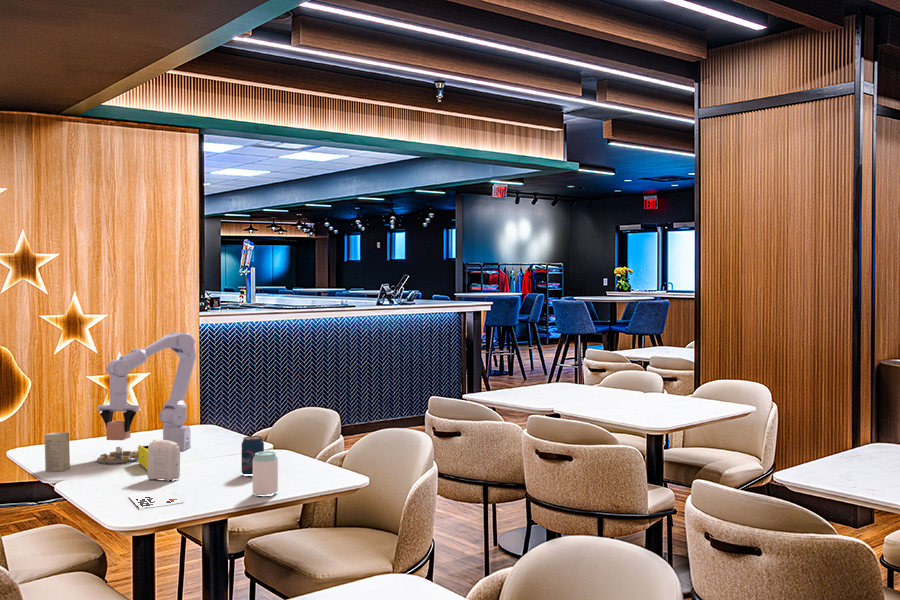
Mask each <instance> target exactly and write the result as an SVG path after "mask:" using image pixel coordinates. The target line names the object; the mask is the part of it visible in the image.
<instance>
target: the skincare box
mask: <svg viewBox="0 0 900 600" xmlns="http://www.w3.org/2000/svg"><path fill="white" fill-rule="evenodd" d="M70 454H71V452H70V432H50V433H46V434H44V462H45V464H44V468H45V472H64V471H67V470H69V469H71V461H70V460H71V459H70Z"/></svg>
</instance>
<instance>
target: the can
mask: <svg viewBox="0 0 900 600" xmlns="http://www.w3.org/2000/svg"><path fill="white" fill-rule="evenodd" d="M278 459H279V458H278V456H277V455H276V452H275V451H271V450H270V451H268V450H264V451H263V452H257V453H255V456H254V458H253V477H252V494H253V493H254V494H256V495H267V494H272V493H275V492H277V491H278V492H279V489H278V488H279V486H278V485H279V483H278V482H279V476H278V475H279V474H278V473H279V471H278V470H279V467H278V466H279V465H278V462H279V461H278ZM278 492H277V493H278ZM254 494H253V495H254ZM256 495H255V496H256Z"/></svg>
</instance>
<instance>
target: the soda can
mask: <svg viewBox="0 0 900 600" xmlns="http://www.w3.org/2000/svg"><path fill="white" fill-rule="evenodd" d="M264 444H265V442H264V440H263V437H262V436H259V435H256V436H255V435H254V436H253V435H249V436H245V437H243V440H242V442H241V474H242V473H243V474H253V458H254V456H255V453H257V452H263V451H265V447H264V446H265V445H264ZM243 474H242V475H243Z"/></svg>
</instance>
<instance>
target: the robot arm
mask: <svg viewBox="0 0 900 600" xmlns="http://www.w3.org/2000/svg"><path fill="white" fill-rule="evenodd" d="M195 342H196V340H195V339H194V337H193V336H192V335H191V333H188V332H175V331H173V332H170V333H169V334H166V335H163V337H161V338H159V339H157V340H156V341H154V342H152V343H151V344H149V345H148V346H146V347H144V348H142V349H141V348H132V349H130V352H129V353H126V354H124V355H120V356H119V358H118V359H112V360H110V361H109V363H108V364H107V367H106V372H107V374H108V375H109V404H102V405H101V404H99V405H97V407H96V411H97V412H100V413H99V414H100V417H101V418H102V420H103V422H104V425H105V427H106V429H107V423H109V422H112V421H113V417H114V412H122V416H123V419H124V420H123V421H124V422H125V432H128V431H130V432H131V427H132V426H131V425H132V422H133V420H134V418H135V416H136V414H137V412H139V411H140V405H134V404H128V376H129V374H130V373H131V371H132V370H133V369H135V368H137V367H139V366H141V365H143V364H145V363H146V361H147V358H149V357H151V356H152V355H155V354H158V352H161V351H163V350H164V349H171V350H172V351H173V352H175V353H176V355H177V356H178V358H179V361H178V363H177V364H178V365H177V368H176V373H175V376H174V381H173V384H172V387H171V391H170V395H169V398H168V399H167V401H165V403H164V405H163V407H162V409H161V410H160V412H159V420H160V421H161V422H162V440H169V441H173V442H175V443H177V444H178V445H179V447H180V452H183V451H186V450H188V449H190V448H192V445H191V428H190V426H188V425H184V424H185V423H186V421H187V417H188V415H187V408H188V406H187V404H186V402H185V399H186V396H187V393H188V390H189V389H188V388H189V384H190V380H191V376H192V373H193V370H194V365H195V363H196V362H195V361H196V357H197V355H196V348H195Z"/></svg>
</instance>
